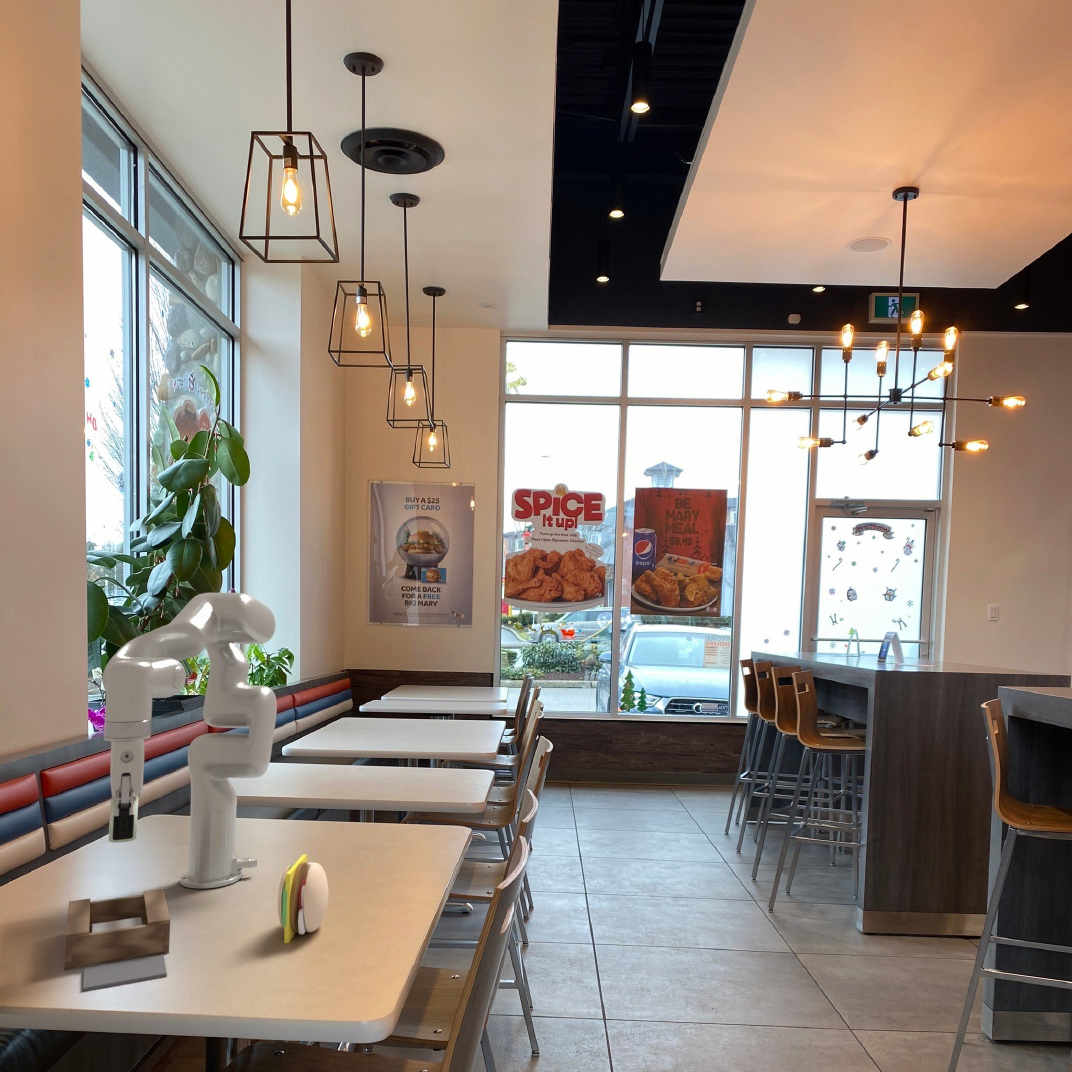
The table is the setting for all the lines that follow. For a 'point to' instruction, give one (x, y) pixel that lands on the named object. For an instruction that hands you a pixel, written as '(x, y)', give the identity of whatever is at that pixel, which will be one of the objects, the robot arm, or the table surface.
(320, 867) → the hamburger
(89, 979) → the rubber mat
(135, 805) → the sage cylinder
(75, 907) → the walnut box
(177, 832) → the table surface
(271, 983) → the table surface
